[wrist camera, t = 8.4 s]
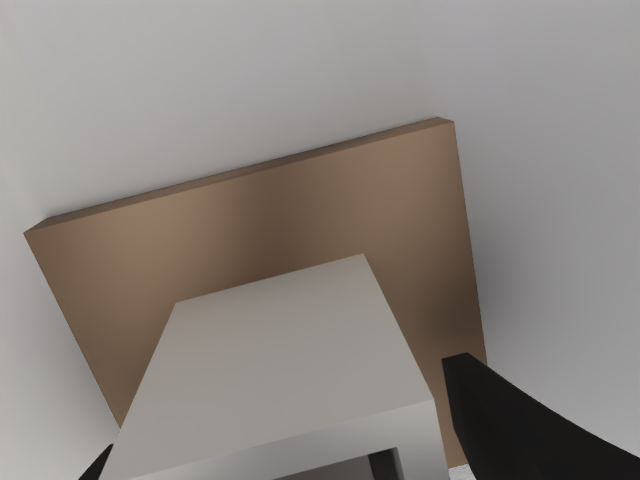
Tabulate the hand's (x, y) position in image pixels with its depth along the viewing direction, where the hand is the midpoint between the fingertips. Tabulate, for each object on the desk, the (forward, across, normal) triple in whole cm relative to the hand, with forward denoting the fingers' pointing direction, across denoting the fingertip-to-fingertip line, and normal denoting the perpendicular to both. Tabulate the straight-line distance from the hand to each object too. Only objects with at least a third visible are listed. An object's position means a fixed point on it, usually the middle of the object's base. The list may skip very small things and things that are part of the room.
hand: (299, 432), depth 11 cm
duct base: (+4, 0, 0) cm, 4 cm away
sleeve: (+3, 0, 0) cm, 3 cm away
